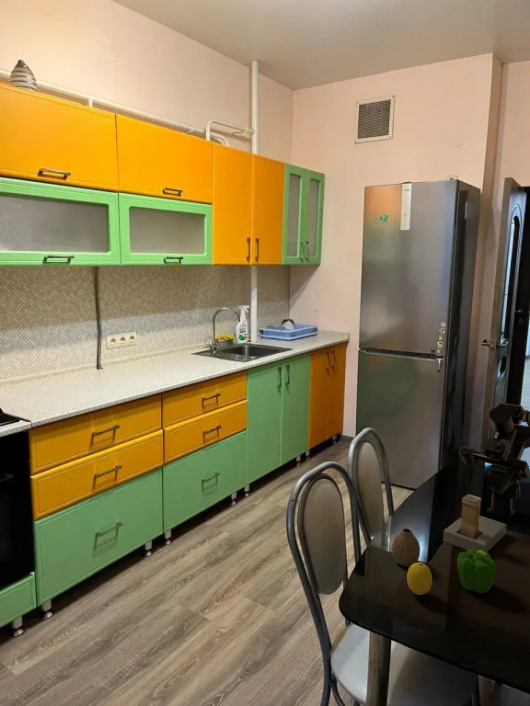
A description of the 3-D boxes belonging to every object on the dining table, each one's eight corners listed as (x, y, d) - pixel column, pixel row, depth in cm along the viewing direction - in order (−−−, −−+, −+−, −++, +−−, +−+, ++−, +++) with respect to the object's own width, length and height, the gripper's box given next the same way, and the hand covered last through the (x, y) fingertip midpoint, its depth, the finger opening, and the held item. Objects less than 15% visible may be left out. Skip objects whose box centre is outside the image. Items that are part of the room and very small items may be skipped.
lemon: (432, 603, 116) (434, 570, 115) (406, 600, 117) (408, 567, 116) (429, 589, 121) (431, 557, 120) (405, 586, 122) (406, 554, 121)
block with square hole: (467, 521, 154) (468, 511, 154) (505, 534, 147) (506, 524, 146) (442, 540, 143) (443, 530, 142) (483, 555, 135) (483, 545, 135)
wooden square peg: (464, 538, 144) (468, 494, 142) (477, 542, 142) (481, 498, 140) (459, 542, 142) (462, 498, 140) (472, 547, 139) (475, 502, 137)
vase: (419, 557, 134) (421, 526, 133) (418, 572, 128) (420, 539, 127) (392, 553, 137) (394, 521, 135) (390, 566, 130) (391, 534, 129)
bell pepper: (451, 576, 126) (453, 538, 125) (485, 577, 126) (488, 539, 124) (463, 597, 118) (465, 557, 116) (499, 598, 118) (503, 558, 116)
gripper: (463, 419, 153) (443, 465, 147) (530, 433, 140) (512, 484, 134) (472, 439, 160) (454, 483, 154) (537, 454, 147) (520, 503, 141)
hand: (483, 487), depth 145 cm, fingers open, 9 cm apart
